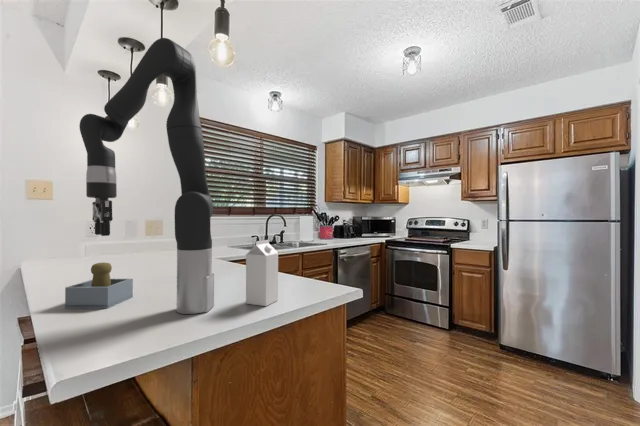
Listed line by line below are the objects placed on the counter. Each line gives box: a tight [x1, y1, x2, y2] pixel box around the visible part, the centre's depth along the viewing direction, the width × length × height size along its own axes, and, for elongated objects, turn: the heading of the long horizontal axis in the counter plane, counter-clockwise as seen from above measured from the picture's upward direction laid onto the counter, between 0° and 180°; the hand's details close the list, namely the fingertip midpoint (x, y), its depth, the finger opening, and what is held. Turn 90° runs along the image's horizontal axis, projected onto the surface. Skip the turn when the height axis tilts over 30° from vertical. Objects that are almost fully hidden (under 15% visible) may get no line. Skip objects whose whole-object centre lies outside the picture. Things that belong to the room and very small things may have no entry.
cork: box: [90, 262, 113, 287], centre depth 94 cm, size 6×6×11 cm
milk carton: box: [245, 239, 279, 307], centre depth 94 cm, size 7×7×19 cm
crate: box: [64, 278, 134, 310], centre depth 94 cm, size 12×12×6 cm
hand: (102, 235), depth 94 cm, fingers open, 8 cm apart
